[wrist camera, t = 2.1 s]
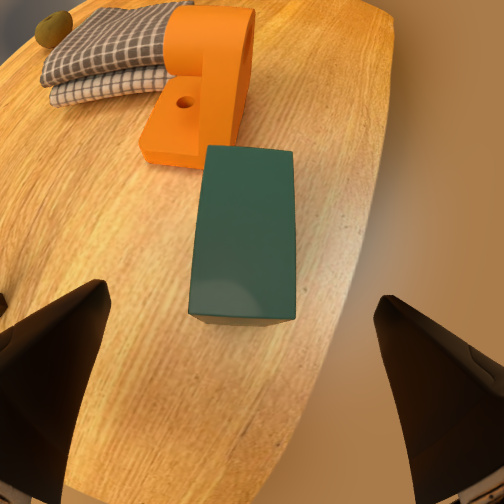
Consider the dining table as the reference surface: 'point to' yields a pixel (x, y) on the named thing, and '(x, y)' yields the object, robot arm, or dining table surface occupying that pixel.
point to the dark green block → (245, 238)
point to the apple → (54, 29)
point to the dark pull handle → (2, 304)
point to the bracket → (200, 84)
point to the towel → (110, 56)
